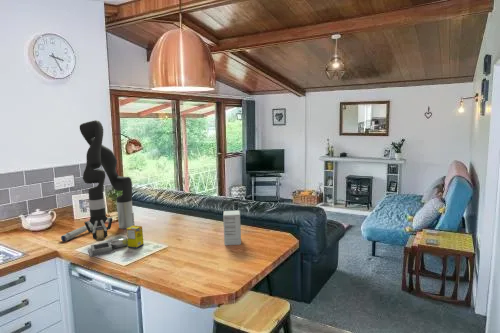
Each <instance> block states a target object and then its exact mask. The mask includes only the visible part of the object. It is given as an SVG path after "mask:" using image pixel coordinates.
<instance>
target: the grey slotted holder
mask: <svg viewBox="0 0 500 333" xmlns="http://www.w3.org/2000/svg"><path fill="white" fill-rule="evenodd" d="M123 247H128V240H127V237H124V238H123V237H122V238H118V239H113V240H110V241H106V242H101V243H96V244H95V243H94V244H90V247H89V248H88V249H87V250H88V253H89V257H90V258H92V257H97V255H98V256H102V254H103V255H107V254H112V253H115V252H116V250H115V249H118V248H123ZM111 252H112V253H111Z"/></svg>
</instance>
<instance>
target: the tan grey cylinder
mask: <svg viewBox="0 0 500 333" xmlns="http://www.w3.org/2000/svg"><path fill="white" fill-rule="evenodd" d="M95 233H96V240H95V241H96V242H102V241H105V240H106V238H105V234H104V228H103V226H98V227H96V230H95Z"/></svg>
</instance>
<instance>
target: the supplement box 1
mask: <svg viewBox="0 0 500 333" xmlns="http://www.w3.org/2000/svg"><path fill="white" fill-rule="evenodd" d="M126 238H127V240H128V246H127V247H128V248H129V249H139V248H140V247H142V246H144V245H145V244H144V234H143V226H142V225H135V224H134V225H133V226H131V227H129V228H126Z"/></svg>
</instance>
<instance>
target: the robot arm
mask: <svg viewBox="0 0 500 333" xmlns="http://www.w3.org/2000/svg"><path fill="white" fill-rule="evenodd" d="M79 132H80V134H81V135H82V137H83V139H84V140H85V142H86V143H87V144H88V146H89V147H88V149H87V151H86V157H85V158H86V165H85V169H84V170H83V173H82V180H83V182H84V183H85V184H86V185H89V184H91V185H92V184H98V185H95V186H93V187H91V188H89V189H88V207H89V215H90V216H89V217H90V218H89V220H87V221H84V226H85V225H86V228H87V231H88V234H89V233H91V234H92V238H93V239H94V240H95V241H96V233H95V230H96V227H98V226H103V228H104V234H105V239H106V238H107V237H108V236H109V235H108V231H109V230H110V229H111V228H112V224H113V223H112V222H113V218H112V217H107V211H106V203H105V196H104V185H105V184H104V183H105V181H106V176H107V177H108V180H109V183H110V184H111V187H112V188H113V189H114V190H115V191H117V192H118V191H119V192H122V194H121V195H118V196H117V197H116V209H117V220H118V228H119V229H121V230H122V229H126V230H127V228H129V227H131V226H133V225H135V213H134V210H133V181H132V179H131V177H129V176H120V175H119V174H118V173H117V164H118V162H117V161H118V160H117V158H116V155H115V153H114V152H113V151H112V150H111V148H109V147H107V146H105V145H104V144H103V140H104V127H103V124H102V123H101V121H100V120H97V119H96V120H91V121H87V122H84V123H81V124H80V125H79ZM101 167H102V168H101ZM90 222H91V223H92V224H93V229H92V230H91V229H90V227H89V225H90ZM106 222H107V223H108V224H107V226H106Z"/></svg>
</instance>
